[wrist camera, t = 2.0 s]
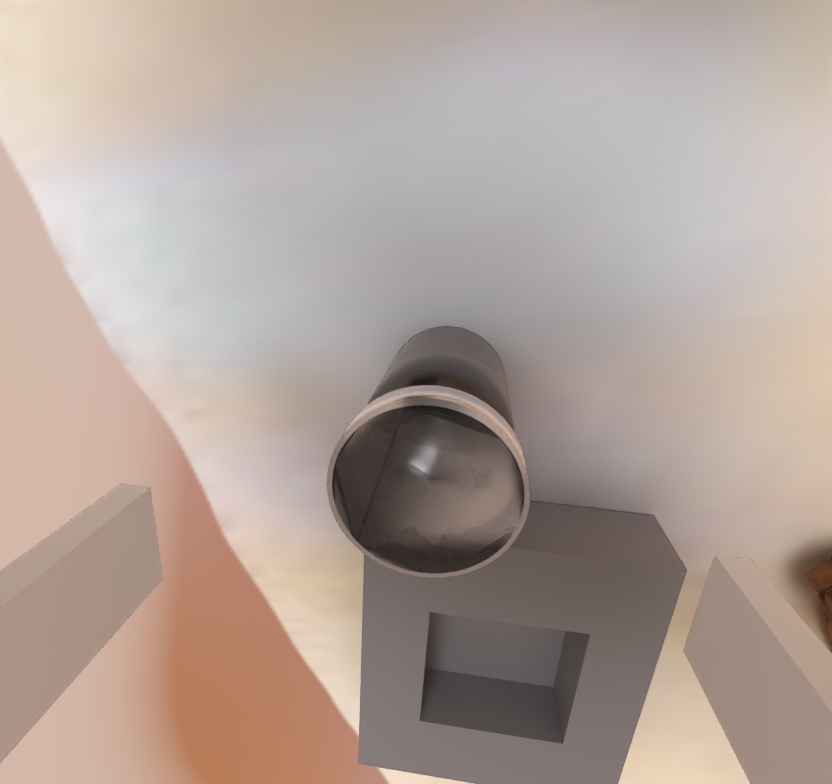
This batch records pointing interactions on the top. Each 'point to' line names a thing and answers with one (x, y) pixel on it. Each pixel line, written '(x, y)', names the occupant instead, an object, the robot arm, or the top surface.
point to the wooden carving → (823, 589)
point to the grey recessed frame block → (520, 653)
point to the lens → (433, 461)
